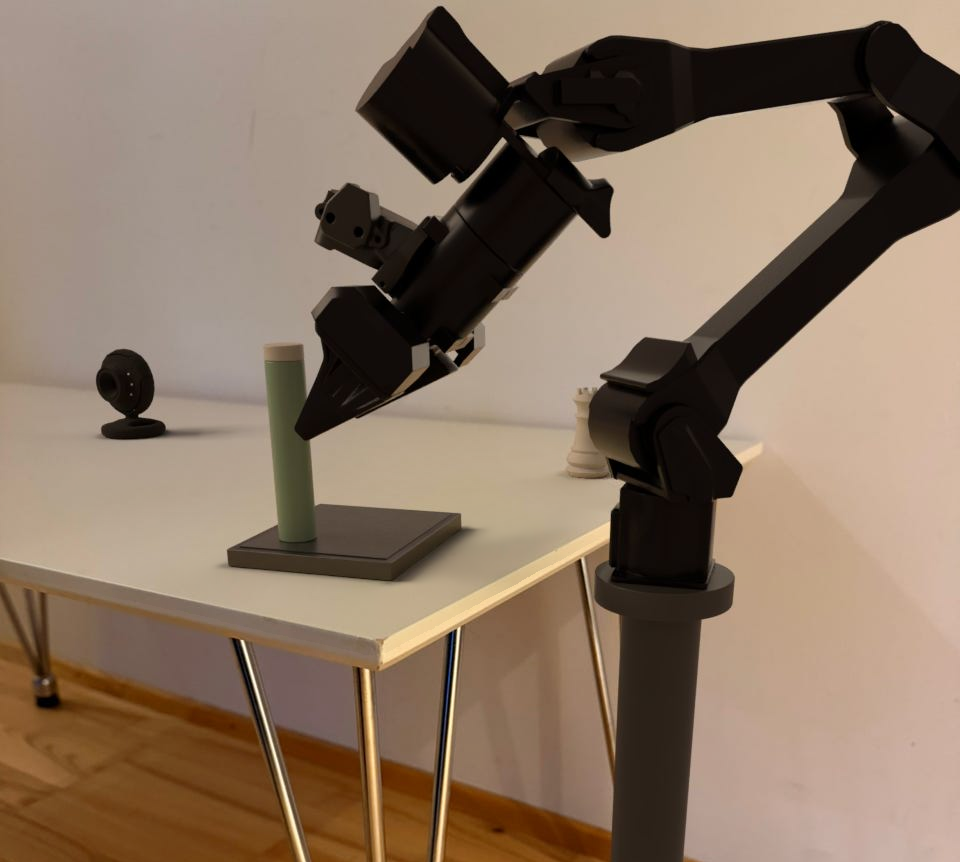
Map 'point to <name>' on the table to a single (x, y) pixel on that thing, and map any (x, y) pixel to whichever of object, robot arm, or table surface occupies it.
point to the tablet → (351, 542)
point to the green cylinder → (289, 442)
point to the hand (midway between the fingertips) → (327, 423)
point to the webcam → (128, 395)
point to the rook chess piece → (585, 442)
